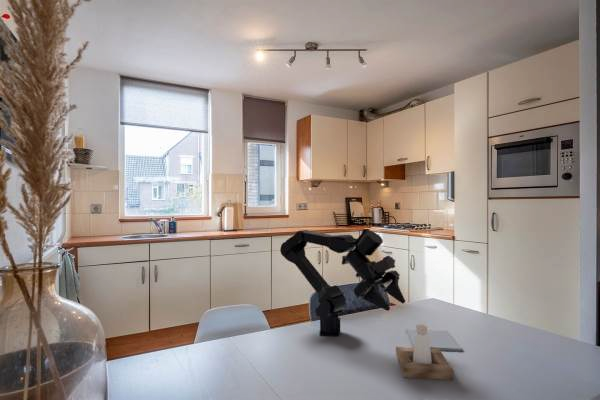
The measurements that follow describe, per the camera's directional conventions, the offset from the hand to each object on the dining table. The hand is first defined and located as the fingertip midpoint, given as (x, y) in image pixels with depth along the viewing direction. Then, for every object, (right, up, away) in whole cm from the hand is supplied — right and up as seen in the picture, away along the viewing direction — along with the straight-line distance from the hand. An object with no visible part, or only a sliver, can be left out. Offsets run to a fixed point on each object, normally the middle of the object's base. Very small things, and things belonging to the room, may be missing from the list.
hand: (397, 306), depth 95 cm
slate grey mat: (+14, -14, +10) cm, 22 cm away
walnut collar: (+5, -14, -7) cm, 16 cm away
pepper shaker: (+5, -14, -7) cm, 17 cm away
